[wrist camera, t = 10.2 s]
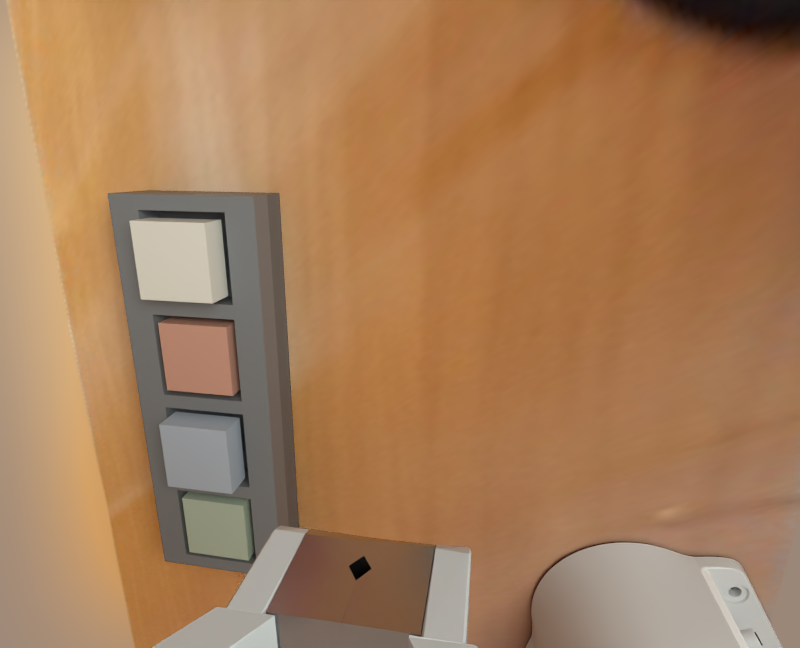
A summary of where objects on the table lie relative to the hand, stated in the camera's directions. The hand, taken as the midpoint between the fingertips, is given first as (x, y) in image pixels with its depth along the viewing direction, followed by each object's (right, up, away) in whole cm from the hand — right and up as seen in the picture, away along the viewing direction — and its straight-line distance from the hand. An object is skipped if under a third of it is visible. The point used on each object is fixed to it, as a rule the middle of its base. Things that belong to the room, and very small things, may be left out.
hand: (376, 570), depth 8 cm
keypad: (-13, -1, +32) cm, 35 cm away
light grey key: (-14, -5, +30) cm, 33 cm away
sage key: (-13, -11, +33) cm, 38 cm away
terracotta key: (-13, +2, +29) cm, 32 cm away
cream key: (-13, +8, +26) cm, 30 cm away
